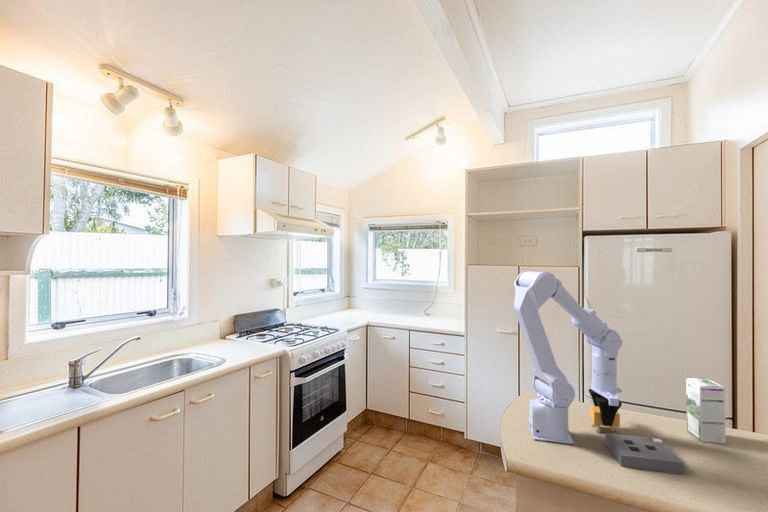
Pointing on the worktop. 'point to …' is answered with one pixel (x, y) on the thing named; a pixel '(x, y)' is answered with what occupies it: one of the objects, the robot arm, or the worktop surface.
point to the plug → (597, 421)
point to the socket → (644, 453)
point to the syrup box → (706, 410)
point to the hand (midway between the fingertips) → (604, 421)
